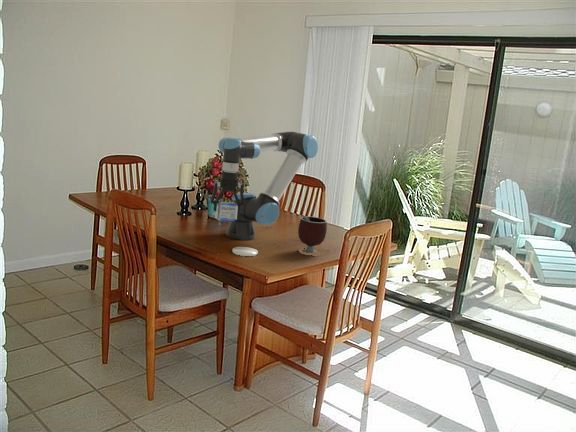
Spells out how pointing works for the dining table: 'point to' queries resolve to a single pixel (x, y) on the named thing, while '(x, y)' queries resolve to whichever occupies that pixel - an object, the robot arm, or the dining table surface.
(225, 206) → the medicine box
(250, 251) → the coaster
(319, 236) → the mate gourd
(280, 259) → the dining table surface
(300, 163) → the robot arm
